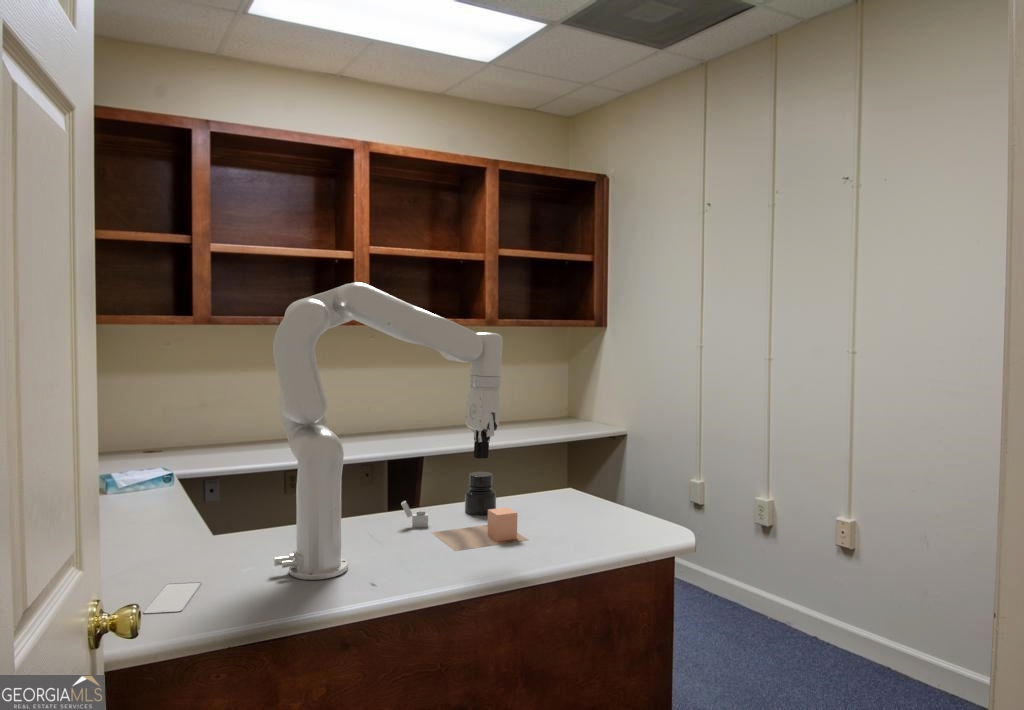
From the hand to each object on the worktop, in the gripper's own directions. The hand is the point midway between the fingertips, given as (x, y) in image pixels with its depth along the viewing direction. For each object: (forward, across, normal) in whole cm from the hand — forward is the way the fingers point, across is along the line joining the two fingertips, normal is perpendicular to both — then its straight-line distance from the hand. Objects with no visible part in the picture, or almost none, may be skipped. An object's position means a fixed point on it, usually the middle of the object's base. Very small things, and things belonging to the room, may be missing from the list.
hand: (480, 457), depth 170 cm
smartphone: (+26, +2, -67) cm, 72 cm away
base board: (+22, -5, +3) cm, 23 cm away
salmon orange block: (+21, -2, +8) cm, 22 cm away
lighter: (+23, -20, -9) cm, 32 cm away
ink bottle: (+22, -26, +13) cm, 36 cm away
